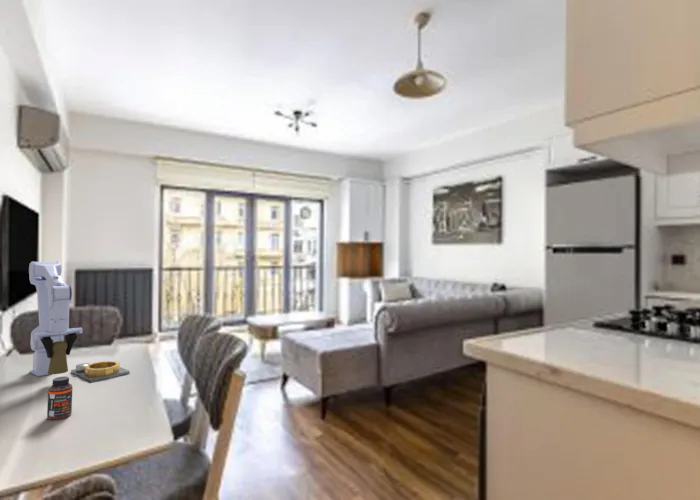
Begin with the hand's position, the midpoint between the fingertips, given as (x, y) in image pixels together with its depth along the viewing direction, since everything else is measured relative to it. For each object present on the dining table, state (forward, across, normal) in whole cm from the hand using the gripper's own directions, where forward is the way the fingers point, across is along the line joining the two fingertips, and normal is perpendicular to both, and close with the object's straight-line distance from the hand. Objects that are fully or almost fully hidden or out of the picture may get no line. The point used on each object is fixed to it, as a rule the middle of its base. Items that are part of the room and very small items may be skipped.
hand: (58, 355), depth 147 cm
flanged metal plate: (+10, +15, +2) cm, 18 cm away
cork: (+6, 0, 0) cm, 6 cm away
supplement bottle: (+10, -10, -32) cm, 35 cm away
